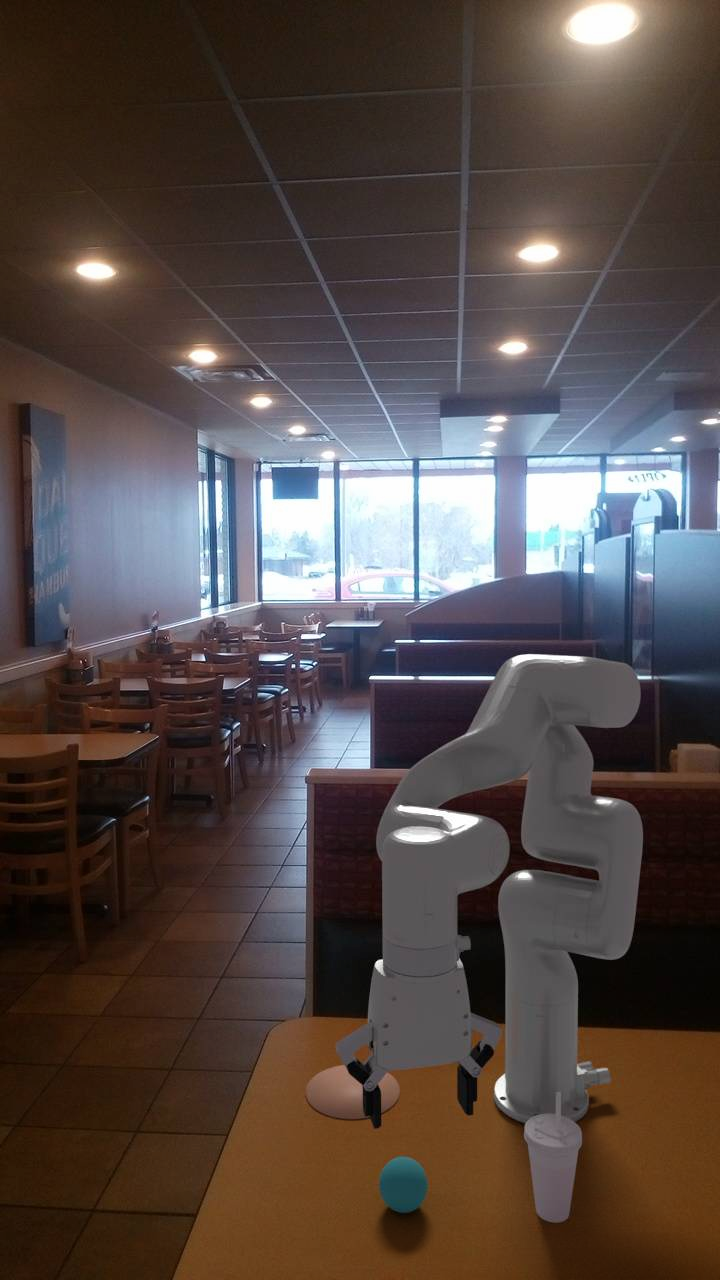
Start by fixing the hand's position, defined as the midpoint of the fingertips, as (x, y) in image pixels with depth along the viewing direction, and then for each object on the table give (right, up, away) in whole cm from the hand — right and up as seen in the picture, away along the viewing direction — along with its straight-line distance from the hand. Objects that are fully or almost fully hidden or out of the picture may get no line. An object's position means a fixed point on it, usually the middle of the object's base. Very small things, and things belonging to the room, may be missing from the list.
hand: (420, 1114), depth 96 cm
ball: (-1, -13, +10) cm, 17 cm away
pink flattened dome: (-7, -14, +34) cm, 37 cm away
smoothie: (+15, -16, +10) cm, 24 cm away
